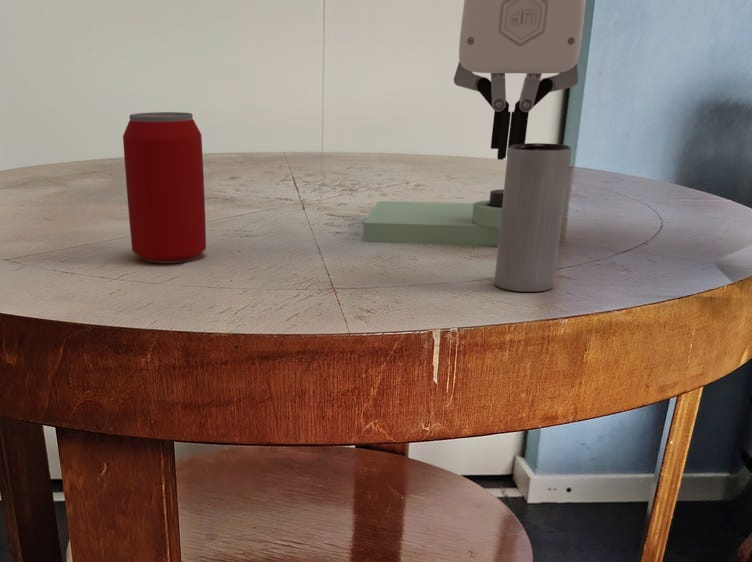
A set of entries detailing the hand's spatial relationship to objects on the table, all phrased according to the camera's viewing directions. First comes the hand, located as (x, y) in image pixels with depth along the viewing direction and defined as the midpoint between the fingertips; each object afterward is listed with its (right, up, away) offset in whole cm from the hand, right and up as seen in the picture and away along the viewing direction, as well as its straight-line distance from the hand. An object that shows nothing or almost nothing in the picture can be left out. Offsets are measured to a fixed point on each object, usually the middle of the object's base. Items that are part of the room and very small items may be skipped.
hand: (506, 157), depth 83 cm
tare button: (0, -4, +2) cm, 5 cm away
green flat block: (-4, -4, +8) cm, 10 cm away
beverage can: (-31, -10, -1) cm, 32 cm away
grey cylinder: (-2, -15, -12) cm, 19 cm away
